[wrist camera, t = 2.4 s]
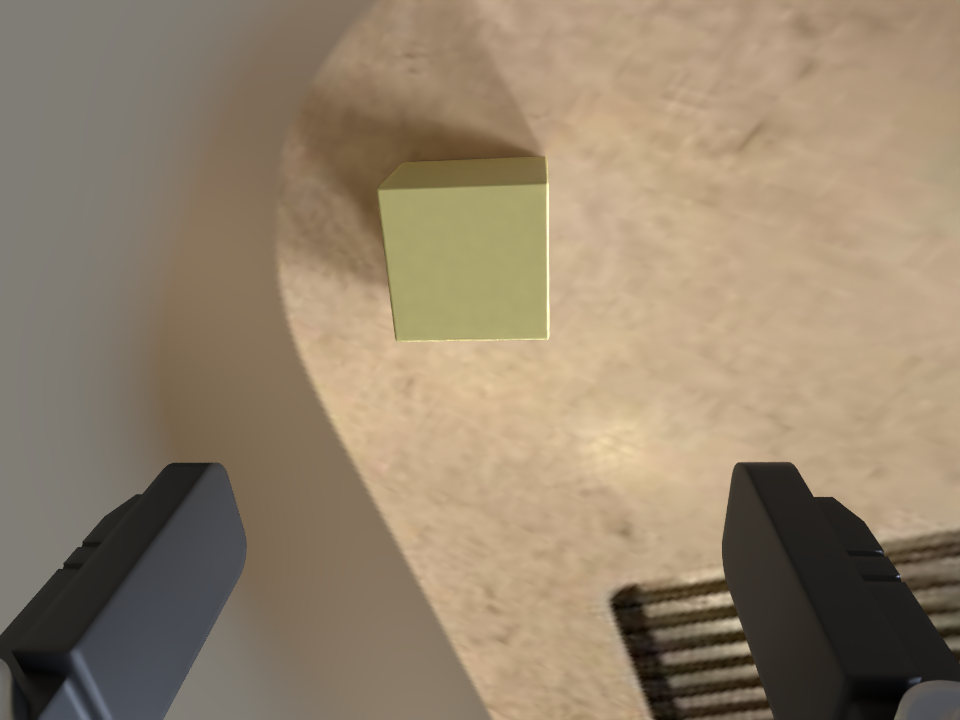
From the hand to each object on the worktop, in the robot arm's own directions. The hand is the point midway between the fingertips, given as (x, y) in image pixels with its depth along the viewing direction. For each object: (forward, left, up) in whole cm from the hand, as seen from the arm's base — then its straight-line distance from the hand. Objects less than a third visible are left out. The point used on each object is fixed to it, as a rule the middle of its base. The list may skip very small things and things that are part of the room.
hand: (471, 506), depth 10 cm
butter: (+1, -1, -15) cm, 15 cm away
